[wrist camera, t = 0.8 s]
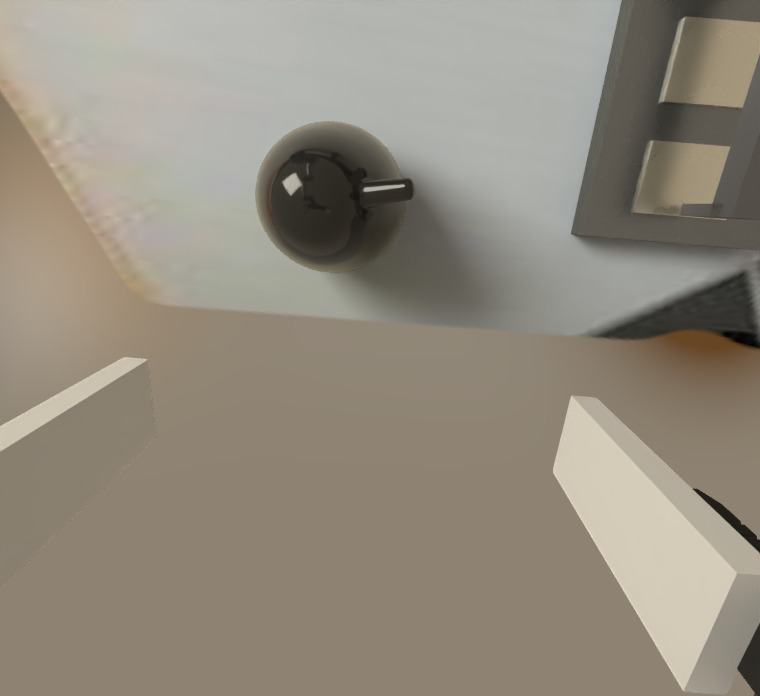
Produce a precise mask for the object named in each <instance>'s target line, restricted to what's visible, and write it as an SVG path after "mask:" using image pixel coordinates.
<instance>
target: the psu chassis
mask: <svg viewBox="0 0 760 696" xmlns="http://www.w3.org/2000/svg"><path fill="white" fill-rule="evenodd" d="M759 55H760V0H622V3H621V8H620V12H619V17H618V22H617V26H616V31H615V35H614V40H613V44H612V49H611V54H610V58H609V63H608V67H607V72H606V76H605V81H604V85H603V90H602V95H601V99H600V104H599V108H598V113H597V117H596V122H595V127H594V131H593V136H592V140H591V145H590V149H589V154H588V159H587V163H586V168H585V172H584V177H583V181H582V186H581V191H580V195H579V200H578V204H577V209H576V213H575V218H574V223H573V227H572V232H571V234H576V235H584V236H596V237H608V238H620V239H631V240H643V241H655V242H667V243H679V244H690V245H702V246H714V247H726V248H738V249H749V250H760V220H744V219H719V218H703V217H692V216H680V215H679V214H680V211H681V207H682V204H712V203H713V200H714V197H715V194H716V191H717V187H718V184H719V181H720V178H721V175H722V172H723V168H724V165H725V162H726V159H727V156H728V153H729V149H730V146H731V143H732V140H733V137H734V134H735V131H736V127H737V124H738V121H739V118H740V115H741V112H742V108H743V105H744V102H745V99H746V96H747V93H748V89H749V86H750V83H751V80H752V77H753V74H754V70H755V67H756V64H757V61H758V58H759Z"/></svg>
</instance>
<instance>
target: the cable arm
mask: <svg viewBox="0 0 760 696" xmlns="http://www.w3.org/2000/svg"><path fill="white" fill-rule="evenodd" d="M679 215H680V216H692V217H703V218H719V219H744V220H760V55H759V58H758V61H757V64H756V67H755V70H754V74H753V77H752V80H751V83H750V86H749V89H748V93H747V96H746V99H745V102H744V105H743V108H742V112H741V115H740V118H739V121H738V124H737V127H736V131H735V134H734V137H733V140H732V143H731V146H730V149H729V153H728V156H727V159H726V162H725V165H724V168H723V172H722V175H721V178H720V181H719V184H718V187H717V191H716V194H715V197H714V200H713V203H712V204H682V207H681V211H680V214H679Z"/></svg>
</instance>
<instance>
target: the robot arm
mask: <svg viewBox="0 0 760 696" xmlns="http://www.w3.org/2000/svg"><path fill="white" fill-rule="evenodd" d="M155 438H156V427H155V418H154V408H153V398H152V389H151V379H150V369H149V360H148V359H139V358H127V357H124V358H122V359H120V360H118V361H116V362H115V363H113V364H111V365H109V366H107V367H105V368H104V369H102V370H100V371H98V372H97V373H95V374H93V375H91V376H89V377H88V378H86V379H84V380H82V381H80V382H79V383H77V384H75V385H73V386H72V387H70V388H68V389H66V390H64V391H63V392H61V393H59V394H57V395H56V396H54V397H52V398H50V399H48V400H46V401H45V402H43V403H41V404H39V405H38V406H36V407H34V408H32V409H30V410H29V411H27V412H25V413H23V414H21V415H20V416H18V417H16V418H14V419H13V420H11V421H9V422H7V423H5V424H4V425H2V426H0V589H1V588H2V587H3V586H4V585H5V584H6V583H7V582H8V581H9V580H10V579H11V578H12V577H13V576H14V575H15V574H16V573H17V572H18V571H19V570H20V569H21V568H22V567H23V566H25V564H26V563H28V561H30V560H31V559H32V558H33V557H34V556H35V555H36V554H37V553H38V552H39V551H40V550H41V549H42V548H43V547H44V546H45V545H46V544H47V543H48V542H49V541H50V540H51V539H52V538H53V537H54V536H55V535H56V534H57V533H58V532H60V531H61V529H63V528H64V527H65V526H66V525H67V524H68V523H69V522H70V521H71V520H72V519H73V518H74V517H75V516H76V515H77V514H78V513H79V512H80V511H81V510H82V509H83V508H84V507H85V506H86V505H87V504H88V503H89V502H90V501H91V500H92V499H93V498H94V497H95V496H96V495H98V494H99V493H100V492H101V491H102V490H103V489H104V488H105V487H106V486H107V485H108V484H109V483H110V482H111V481H112V480H113V479H114V478H115V477H116V476H117V475H118V474H119V473H120V472H121V471H122V470H123V469H124V468H125V467H126V466H127V465H128V464H130V463H131V461H132V460H133V459H134V458H136V457H137V456H138V455H139V454H140V453H141V452H142V451H143V450H144V449H145V448H146V447H147V446H148V445H149V444H150V443H151V442H152V441H153V440H154V439H155ZM553 473H554V475H555V476H556V478H557V480H558V481H559V483H560V485H561V487H562V488H563V490H564V492H565V493H566V495H567V497H568V498H569V500H570V502H571V503H572V505H573V507H574V508H575V510H576V512H577V513H578V515H579V517H580V519H581V520H582V522H583V523H584V525H585V527H586V529H587V530H588V532H589V534H590V535H591V537H592V539H593V540H594V542H595V544H596V545H597V547H598V549H599V550H600V552H601V554H602V555H603V557H604V559H605V561H606V562H607V564H608V565H609V567H610V569H611V571H612V572H613V574H614V576H615V577H616V579H617V581H618V582H619V584H620V586H621V587H622V589H623V591H624V592H625V594H626V596H627V597H628V599H629V601H630V602H631V604H632V606H633V608H634V609H635V611H636V613H637V614H638V616H639V617H640V619H641V621H642V623H643V624H644V626H645V628H646V629H647V631H648V633H649V634H650V636H651V638H652V639H653V641H654V643H655V644H656V646H657V648H658V649H659V651H660V653H661V655H662V656H663V658H664V660H665V661H666V663H667V665H668V666H669V668H670V670H671V671H672V673H673V675H674V676H675V678H676V680H677V681H678V683H679V685H680V686H681V688H682V690H683V691H684V692H696V693H706V694H718V695H726V694H727V692H728V690H729V688H730V686H731V684H732V682H733V680H734V678H735V676H736V674H737V672H738V671H739V672H740V673H741V674H742V676H743V677H744V679H745V680H746V681H747V683H748V684H749V685H750V687H751V688H752V690H753V691H754V692H755V694H754V696H760V540H758V539H757V536H756V535H755V534H754V533H753V532H752V531H750V529H748V528H747V527H746V526H745V525H741V522H740V520H739V519H738V518H736V517H735V516H734V515H733V514H732V513H731V512H730V511H729V510H727V509H726V508H725V507H724V506H723V505H722V504H720V503H719V502H717V501H716V500H714V499H713V498H711V497H709V496H708V495H706V494H705V493H703V492H701V491H700V490H698V489H692V488H691V487H690V486H689V485H687V484H686V483H685V482H684V481H683V480H682V479H681V478H680V477H679V476H678V475H677V474H676V473H675V472H674V471H673V470H672V469H671V468H670V467H669V466H667V465H666V464H665V463H664V462H663V461H662V460H661V459H660V458H659V457H658V456H657V455H656V454H655V453H654V452H653V451H652V450H651V449H649V447H648V446H646V445H645V444H644V443H643V442H642V441H641V440H640V439H639V438H638V437H637V436H636V435H635V434H634V433H633V432H632V431H631V430H630V429H629V428H628V427H626V426H625V425H624V424H623V423H622V422H621V421H620V420H619V419H618V418H617V417H616V416H615V415H614V414H613V413H612V412H611V411H609V409H608V408H606V407H605V406H604V405H603V404H602V403H601V402H600V401H599V400H598V399H597V398H593V397H582V396H571V399H570V403H569V407H568V411H567V415H566V419H565V423H564V427H563V431H562V436H561V439H560V443H559V448H558V452H557V456H556V460H555V464H554V468H553Z"/></svg>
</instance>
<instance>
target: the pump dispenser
mask: <svg viewBox="0 0 760 696" xmlns="http://www.w3.org/2000/svg"><path fill="white" fill-rule="evenodd" d="M414 193H415V187H414V183H413V181H412V180H411V179H410V178H402V174H401V172H400V169H399V167H398V165H397V163H396V161H395V159H394V157H393V156H392V154H391V153H390V152H389V150H388V149H387V148H386V147H385V146H384V145H383V144H382V143H381V142H380V141H379V140H378V139H377V138H376V137H374V136H373V135H372V134H370V133H369V132H367V131H365V130H363V129H361V128H359V127H357V126H354V125H351V124H347V123H342V122H334V121H323V122H315V123H311V124H307V125H304V126H301V127H299V128H297V129H295V130H293V131H291V132H289V133H288V134H286V135H285V136H284V137H282V138H281V139H280V140H279V141H278V142H277V143H276V144H275V145H274V146H273V147H272V148H271V150H270V151H269V152H268V154H267V155H266V157H265V159H264V160H263V162H262V165H261V167H260V170H259V173H258V176H257V181H256V190H255V198H256V207H257V212H258V216H259V219H260V222H261V224H262V226H263V228H264V230H265V232H266V234H267V235H268V237H269V238H270V240H271V241H272V243H273V244H274V245H275V246H276V247H277V248H278V249H279V250H280V251H281V252H282V253H283V254H284V255H286V256H287V257H288V258H290V259H291V260H293V261H294V262H296V263H298V264H300V265H302V266H304V267H307V268H309V269H312V270H316V271H321V272H329V273H340V272H349V271H353V270H357V269H360V268H362V267H364V266H367V265H369V264H370V263H372V262H374V261H375V260H376V259H378V258H379V257H380V256H381V255H383V254H384V253H385V252H386V250H387V249H388V248H389V247H390V246H391V244H392V243H393V242H394V240H395V238H396V236H397V235H398V233H399V230H400V228H401V225H402V222H403V218H404V214H405V206H406V201H407V200H411V199H412V198H413V196H414Z"/></svg>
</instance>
